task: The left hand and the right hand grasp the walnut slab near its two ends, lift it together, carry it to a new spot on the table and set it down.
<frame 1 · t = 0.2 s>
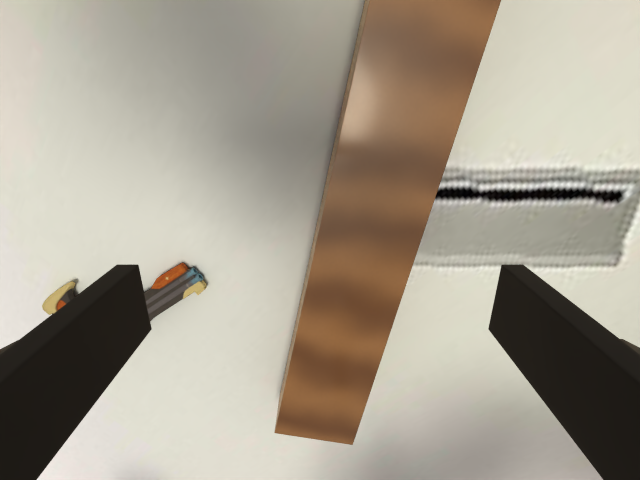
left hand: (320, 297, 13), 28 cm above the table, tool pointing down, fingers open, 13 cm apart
toy gun: (129, 290, 44), on the table
slab: (380, 149, 38), on the table
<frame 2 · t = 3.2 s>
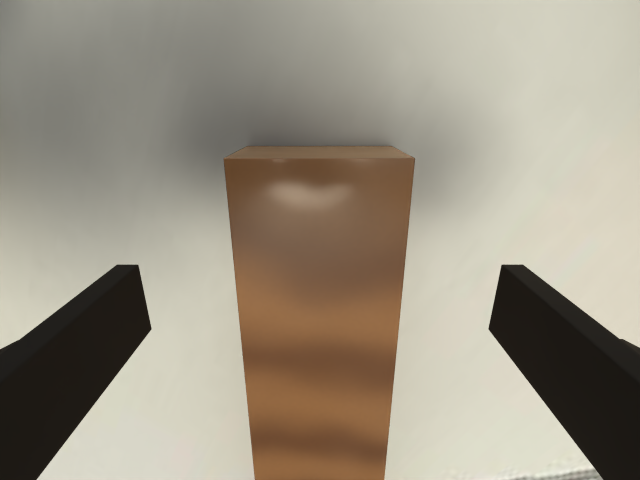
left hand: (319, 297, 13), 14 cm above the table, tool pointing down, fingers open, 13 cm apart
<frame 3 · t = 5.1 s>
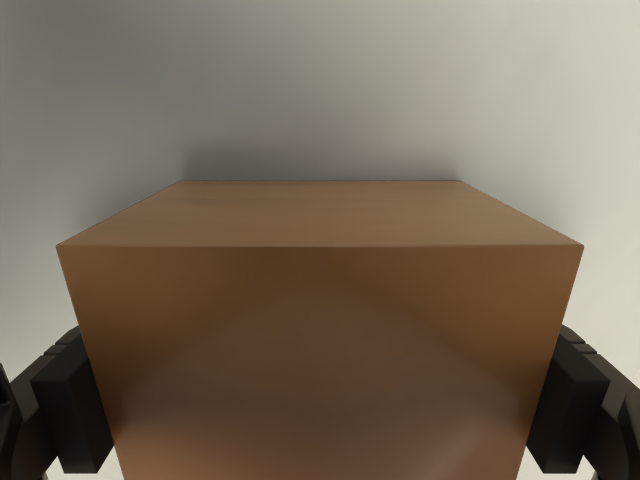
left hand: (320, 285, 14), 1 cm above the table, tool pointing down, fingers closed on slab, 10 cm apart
when the left hand's fingers open (1 cm above the table, at t = 12.6 s): slab stays where it is, on the table.
when the right hand's fingers open (1 cm above the table, at t = 12.6 s): slab stays where it is, on the table.
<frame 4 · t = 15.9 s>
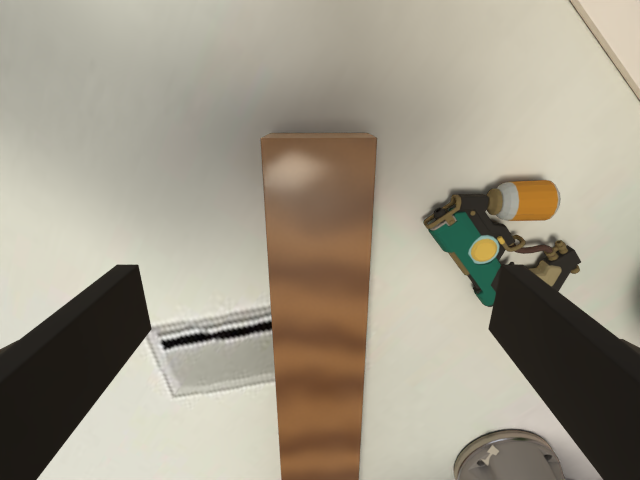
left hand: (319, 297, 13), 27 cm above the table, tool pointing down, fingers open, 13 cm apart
slab: (319, 399, 49), on the table
spray gun: (496, 242, 41), on the table
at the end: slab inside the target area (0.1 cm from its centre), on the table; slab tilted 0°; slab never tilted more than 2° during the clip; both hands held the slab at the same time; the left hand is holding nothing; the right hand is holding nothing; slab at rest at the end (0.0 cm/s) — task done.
